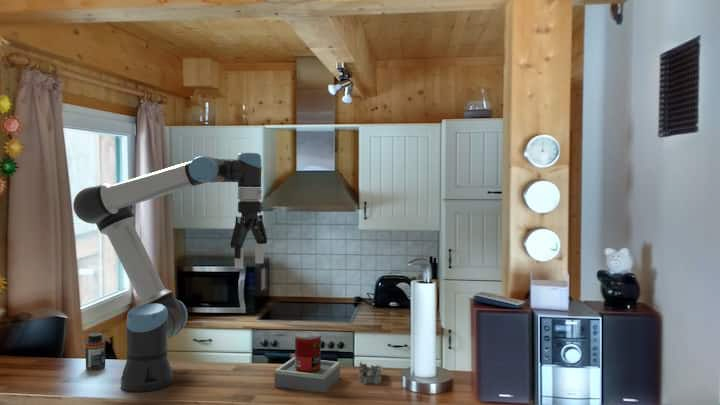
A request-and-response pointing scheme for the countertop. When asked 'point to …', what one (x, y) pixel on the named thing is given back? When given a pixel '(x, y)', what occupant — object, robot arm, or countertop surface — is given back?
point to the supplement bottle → (95, 352)
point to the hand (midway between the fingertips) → (249, 266)
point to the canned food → (307, 351)
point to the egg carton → (370, 374)
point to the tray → (307, 376)
